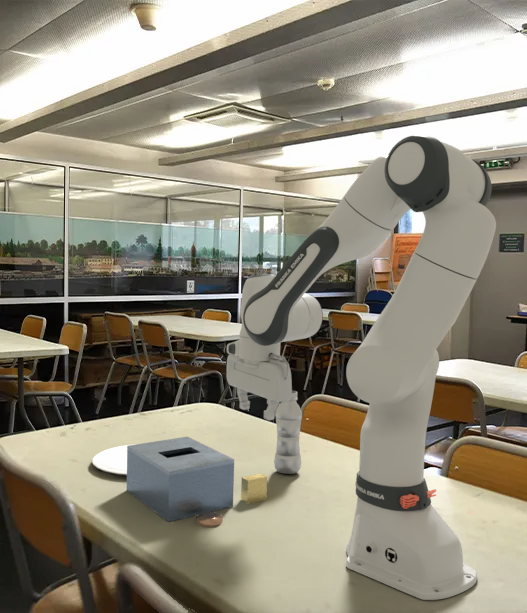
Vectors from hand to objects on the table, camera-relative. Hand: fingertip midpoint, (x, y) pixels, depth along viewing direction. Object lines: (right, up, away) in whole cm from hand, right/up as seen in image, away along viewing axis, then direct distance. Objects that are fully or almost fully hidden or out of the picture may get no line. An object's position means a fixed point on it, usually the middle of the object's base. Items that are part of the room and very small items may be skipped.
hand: (256, 414), depth 133 cm
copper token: (-9, -19, -11) cm, 24 cm away
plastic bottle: (+7, -18, +19) cm, 27 cm away
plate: (-29, -17, +22) cm, 40 cm away
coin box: (-17, -18, 0) cm, 25 cm away
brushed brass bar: (-1, -19, +1) cm, 19 cm away
